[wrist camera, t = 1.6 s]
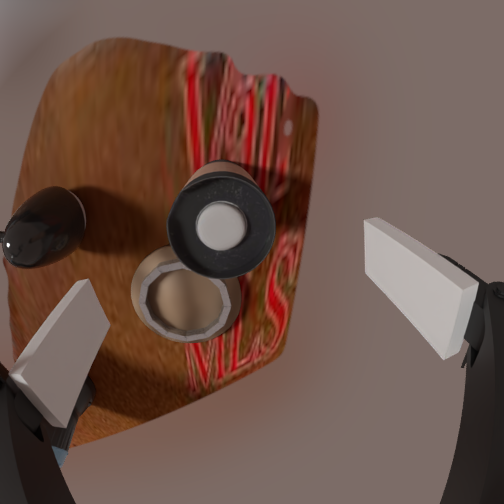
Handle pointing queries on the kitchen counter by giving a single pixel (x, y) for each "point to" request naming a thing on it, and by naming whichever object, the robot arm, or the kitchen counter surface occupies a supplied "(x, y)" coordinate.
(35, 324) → the kitchen counter surface
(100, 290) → the kitchen counter surface
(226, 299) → the carrier plate
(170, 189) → the kitchen counter surface
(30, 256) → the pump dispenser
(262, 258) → the travel mug
